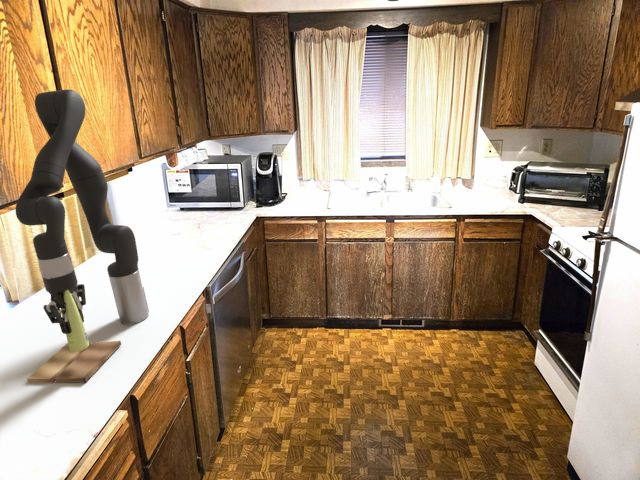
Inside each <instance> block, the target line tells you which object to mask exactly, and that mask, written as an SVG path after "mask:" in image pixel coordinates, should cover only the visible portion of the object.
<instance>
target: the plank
mask: <svg viewBox="0 0 640 480" xmlns="http://www.w3.org/2000/svg"><path fill="white" fill-rule="evenodd" d="M121 342H122V341H121V340H112V341H110V340H109V341H93V342H92V343H90V344H91V345H90V346H89V347H88V348H87V349H86V350H85V351H84V352H83V353H81V354H80V355H79V356H78V357H77V358H76V359H75V360H74V361H73V362H72V363H71V364H70V365H69V366H68V367H67V368H66V369H65V370H63V371H62V372H61V373H60V374H59V375H58V376H57V377H56V378H55V382H54V383H57V384H58V383H59V384H60V383H80V382H81V383H85V382H87V381H88V380H89V379H90V378H91V377H92V376H93V375H94V374H95V373H96V372H97V370H99V369H100V368H101V366H103V365H104V363H105V362H107V360H108V359H109V358H110V357H111V356H112V355H113V354H114V352H116V351H117V350H118V348H119V347H120V346H122V343H121Z"/></svg>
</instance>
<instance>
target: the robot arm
mask: <svg viewBox="0 0 640 480" xmlns="http://www.w3.org/2000/svg"><path fill="white" fill-rule="evenodd" d="M34 106H35V110H36V113H37V116H38V119H39V120H40V122H41V124H42V126H43V129H45V131H46V133H47V135H48V136H49V139H48V140H47V142H45V144H44V145H43V146H42V147H41V149H40V150H39V152H37V153H38V154H37V155H36V157H35V159H34V163H33V167H32V171H31V175H30V176H31V177H30V180H28V181H29V182H28V183H27V184H26V185H25V188H24V189H23V191H22V193H21V194H20V196H19V198H18V199H17V201H16V204H15V215H16V218H17V220H18V222H19V223H20V224H22V225H25V226H42V225H45V227H46V230H45V231H44V232H41V233H39V234H37V235H35V236H34V237H33V239H32V244H33V247H34V251H35V254H36V255H35V256H36V257H37V261H38V268H39V271H40V275H41V277H42V279H41V280H42V281H43V282H42V283H43V285H44V288H45V291H46V292H47V293H48V294H49V295H50V302H49V303H47V304H45V305H43V307H42V308H43V310H44V312H45V314H46V316H48V319H49V321H50V322H51V324H58V325H59V327H60V330H61V333H62V334H65V335H66V334H70V333H71V332H72V330H71V327H70V323H69V320H68V314H67V313H68V312H69V311H68V308H67V304H66V303H65V301H64V296H63V293H64V291H67V290H69V292H70V293H71V295H72V297H73V299H74V301H75V304H76V306H77V308H78V311H79V314H80V316H81V319H82V322H83V323H84V322H85V320H84V319H85V318H84V317H85V316H84V313H83V307H84V306H85V305H87V300H86V299H87V297H86V290H85V284H83V283H81V284H78V279H77V275H76V271H75V267H74V265H73V260H72V257H71V256H70V255H71V254H70V253H69V249H68V246H67V242H66V239H65V232H66V231H65V225H66V221H65V220H66V208H65V206H64V204H63V202H62V201H61V199H59V198H58V197H56V196H50V195H53V194H56V193H58V192H60V191H61V189H62V187H63V182H64V178H65V173H67V176H68V179H69V181H70V184H71V185H72V188H73V190H74V192H75V194H76V196H77V198H78V201H79V203H80V205H81V209H82V211H83V213H84V215H85V218H86V221H87V224H88V227H89V231H90V234H91V237H92V240H93V242H94V245H95V247H96V249H98V251H100V252H102V253H104V254H112V255H113V254H114V258H115V261H113V262H112V263H110V264H109V265H108V266H107V270H106V271H107V274H108V278H109V282H110V287H111V290H112V294H113V298H114V302H115V305H116V306H115V307H116V309H117V314H118V318H119V322H120V323H121V324H123V325H133V324H137V323H140V322H142V321H144V320H145V319H147V318H148V317H149V312H150V310H149V306H148V305H149V304H148V300H147V296H146V292H145V287H144V286H143V283H142V279H141V278H142V277H141V275H140V270H139V266H138V264H139V253H138V249H137V241H136V237H135V233H134V232H133V230H132V229H131V228H130V227H129V226H127V225H122V224H121V225H118V224H112V223H111V221H110V219H109V216H108V213H107V209H106V201H107V196H108V191H109V190H108V189H109V185H108V181H107V179H106V176H105V174H104V171H103V168H102V167H101V164H100V163H99V162H98V161H97V159H96V158H95V157H94V156H92V155H91V154H90V153H89V152H88V151H87V150H86V149H84V148H83V147H82V146H81V145H80V144H79V143H78V142H77V141H76V139H77V137H78V135H79V132H80V131H81V130H80V129H81V127H82V125H83V123H84V121H85V117H86V103H85V101H84V99H83V97H82V95H81V94H80V93H79V92H77V91H76V90H75V89H74V90H73V89H59V90H53V91H52V90H51V91H45V92H40V93H38V94H36V96H35V99H34ZM80 299H81V300H80ZM61 308H65V309H64V310H61ZM62 313H63V317H62Z"/></svg>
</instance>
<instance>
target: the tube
mask: <svg viewBox="0 0 640 480" xmlns="http://www.w3.org/2000/svg"><path fill="white" fill-rule="evenodd" d="M63 296H64V301H65V303H66V304H67V308H68V311H69V312H68V313H67V314H68V320H69V323H70V327H71V330H72V332H71V333H70V334H65V335H66V336H65V337H66V339H67V343H68V344H69V348H70V351H72V352H78V351H82V350H84V349H86V348H87V347H88V346H89V342H90V341H89V338H88V335H87V332H86V328H85V325H84V322H82V319H81V316H80V314H79V311H78V308H77V306H76V304H75V301H74V299H73V297H72V295H71V293H70V292H69V290H67V291H64V293H63ZM64 309H65V308H60V310H64ZM61 317H63V313H61Z"/></svg>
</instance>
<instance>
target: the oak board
mask: <svg viewBox="0 0 640 480" xmlns="http://www.w3.org/2000/svg"><path fill="white" fill-rule="evenodd" d="M91 344H92V343H91V342H90V341H89V346H90V345H91ZM89 346H88V347H89ZM88 347H87V348H88ZM87 348H86V349H87ZM86 349H84V350H82V351H78V352H72V351H70V348H69V344H68V342H67V343H66V344H65V345H64V346H62V347H61V348H60V349H59V350H57V352H56V353H55V354H53V355H52V357H50V358H49V359H48V360H47V361H45V362H44V363H43V364H42V365H41V366H40V367H39V368H38V369H36V370H35V371H34V372H33V373H32V374H30V375H29V376H28V377H27V378H26V380H27V383H38V384H39V383H43V384H44V383H45V384H47V383H49V384H52V383H56V382H55V378H56V377H57V376H58V375H59V374H60V373H61V372H62V371H63V370H65V369H66V368H67V367H68V366H69V365H70V364H71V363H72V362H73V361H74V360H75V359H76V358H77V357H78V356H79V355H80V354H81V353H83V352H84V351H85V350H86Z"/></svg>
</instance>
